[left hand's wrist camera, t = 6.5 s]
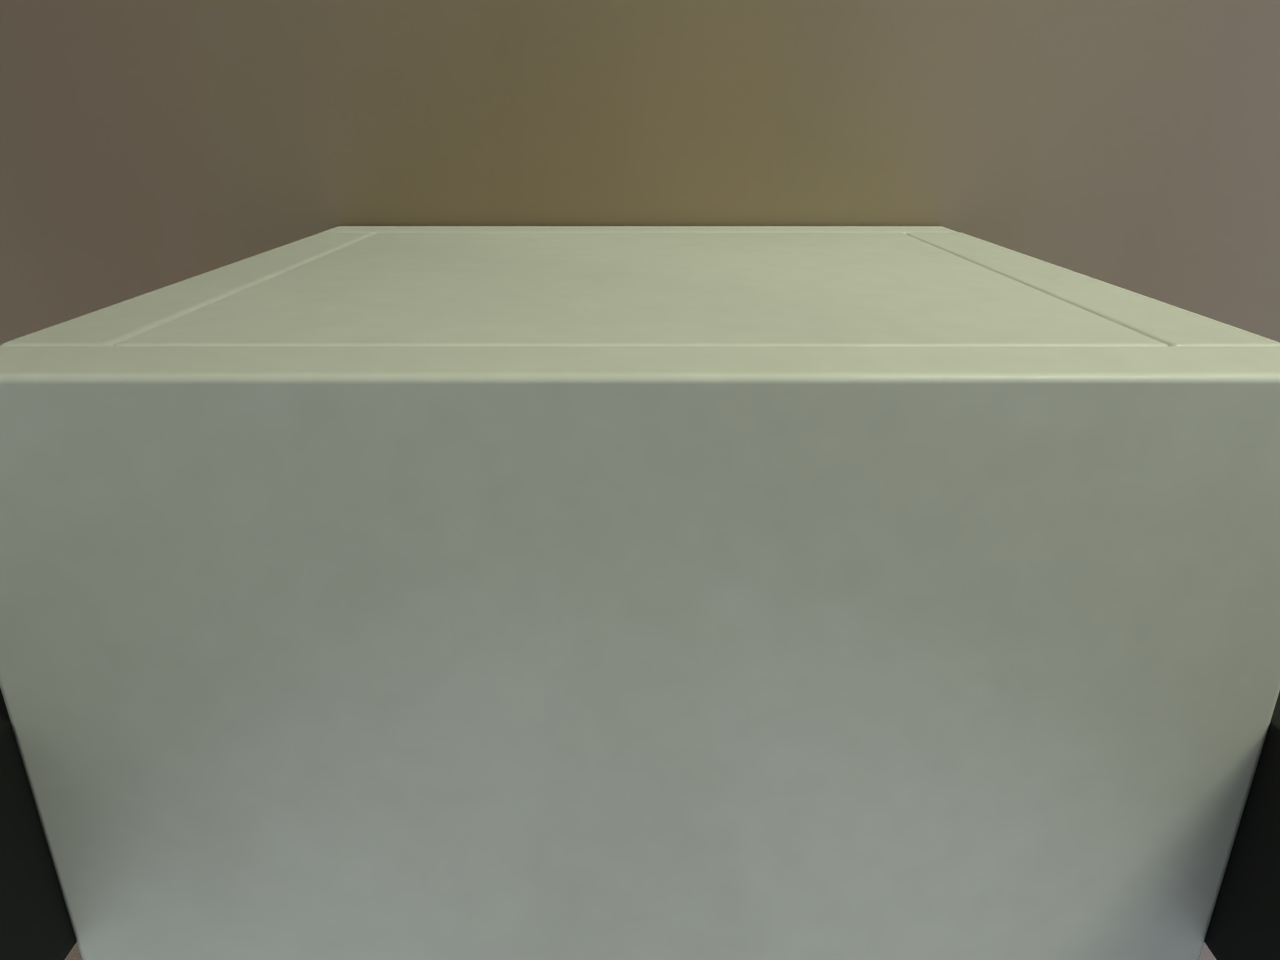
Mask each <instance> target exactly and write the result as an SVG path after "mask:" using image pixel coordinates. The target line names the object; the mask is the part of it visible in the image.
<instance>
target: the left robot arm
mask: <svg viewBox="0 0 1280 960" xmlns="http://www.w3.org/2000/svg"><path fill="white" fill-rule="evenodd" d="M76 942H77V940H76V937H75V933H74V930H73V927H72V923H71V920H70V917H69V913H68V910H67V907H66V904H65V900H64V897H63V894H62V890H61V887H60V884H59V880H58V877H57V874H56V870H55V867H54V864H53V860H52V857H51V854H50V850H49V847H48V844H47V840H46V837H45V834H44V830H43V827H42V824H41V820H40V817H39V814H38V811H37V807H36V804H35V801H34V797H33V794H32V791H31V787H30V784H29V781H28V777H27V774H26V771H25V767H24V764H23V761H22V757H21V754H20V751H19V747H18V744H17V741H16V737H15V734H14V731H13V727H12V724H11V721H10V718H9V714H8V711H7V708H6V704H5V701H4V698H3V694H2V691H1V688H0V960H64V959H65V958H66V956H67V955H68V953H69V952H70V950H71V949H72V948H73V946H74V945H75V943H76ZM1204 942H1205V943H1206V945H1207V946H1208V948H1209V949H1210V951H1211V952H1212V953H1213V955H1214V956H1215V958H1216V959H1217V960H1280V691H1279V695H1278V698H1277V701H1276V704H1275V708H1274V711H1273V714H1272V718H1271V721H1270V724H1269V728H1268V731H1267V734H1266V738H1265V741H1264V744H1263V748H1262V751H1261V754H1260V757H1259V761H1258V764H1257V767H1256V771H1255V774H1254V777H1253V781H1252V784H1251V787H1250V791H1249V794H1248V797H1247V801H1246V804H1245V807H1244V811H1243V814H1242V817H1241V820H1240V824H1239V827H1238V830H1237V834H1236V837H1235V840H1234V844H1233V847H1232V850H1231V854H1230V857H1229V860H1228V864H1227V867H1226V870H1225V873H1224V877H1223V880H1222V883H1221V887H1220V890H1219V893H1218V897H1217V900H1216V903H1215V907H1214V910H1213V913H1212V917H1211V920H1210V923H1209V926H1208V930H1207V933H1206V936H1205V940H1204Z"/></svg>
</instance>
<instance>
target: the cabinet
mask: <svg viewBox="0 0 1280 960" xmlns="http://www.w3.org/2000/svg"><path fill="white" fill-rule="evenodd" d="M0 688H1V691H2V694H3V698H4V701H5V704H6V708H7V711H8V714H9V718H10V721H11V724H12V727H13V731H14V734H15V737H16V741H17V744H18V747H19V751H20V754H21V757H22V761H23V764H24V767H25V771H26V774H27V777H28V781H29V784H30V787H31V791H32V794H33V797H34V801H35V804H36V807H37V811H38V814H39V817H40V820H41V824H42V827H43V830H44V834H45V837H46V840H47V844H48V847H49V850H50V854H51V857H52V860H53V864H54V867H55V870H56V874H57V877H58V880H59V884H60V887H61V890H62V894H63V897H64V900H65V904H66V907H67V910H68V913H69V917H70V920H71V923H72V927H73V930H74V933H75V937H76V940H77V943H78V947H79V950H80V953H81V957H82V960H1199V956H1200V953H1201V950H1202V946H1203V943H1204V940H1205V936H1206V933H1207V930H1208V926H1209V923H1210V920H1211V917H1212V913H1213V910H1214V907H1215V903H1216V900H1217V897H1218V893H1219V890H1220V887H1221V883H1222V880H1223V877H1224V873H1225V870H1226V867H1227V864H1228V860H1229V857H1230V854H1231V850H1232V847H1233V844H1234V840H1235V837H1236V834H1237V830H1238V827H1239V824H1240V820H1241V817H1242V814H1243V811H1244V807H1245V804H1246V801H1247V797H1248V794H1249V791H1250V787H1251V784H1252V781H1253V777H1254V774H1255V771H1256V767H1257V764H1258V761H1259V757H1260V754H1261V751H1262V748H1263V744H1264V741H1265V738H1266V734H1267V731H1268V728H1269V724H1270V721H1271V718H1272V714H1273V711H1274V708H1275V704H1276V701H1277V698H1278V695H1279V691H1280V342H1277V341H1274V340H1271V339H1268V338H1265V337H1262V336H1259V335H1257V334H1254V333H1251V332H1248V331H1245V330H1242V329H1239V328H1236V327H1233V326H1230V325H1228V324H1225V323H1222V322H1219V321H1216V320H1213V319H1210V318H1207V317H1204V316H1201V315H1199V314H1196V313H1193V312H1190V311H1187V310H1184V309H1181V308H1178V307H1175V306H1172V305H1170V304H1167V303H1164V302H1161V301H1158V300H1155V299H1152V298H1149V297H1146V296H1143V295H1141V294H1138V293H1135V292H1132V291H1129V290H1126V289H1123V288H1120V287H1117V286H1115V285H1112V284H1109V283H1106V282H1103V281H1100V280H1097V279H1094V278H1091V277H1088V276H1086V275H1083V274H1080V273H1077V272H1074V271H1071V270H1068V269H1065V268H1062V267H1059V266H1057V265H1054V264H1051V263H1048V262H1045V261H1042V260H1039V259H1036V258H1033V257H1030V256H1028V255H1025V254H1022V253H1019V252H1016V251H1013V250H1010V249H1007V248H1004V247H1001V246H999V245H996V244H993V243H990V242H987V241H984V240H981V239H978V238H975V237H973V236H970V235H967V234H964V233H961V232H956V231H953V230H950V229H948V228H945V227H942V226H338V227H335V228H332V229H330V230H327V231H324V232H322V233H318V234H315V235H313V236H310V237H307V238H304V239H301V240H298V241H295V242H293V243H290V244H287V245H284V246H281V247H278V248H275V249H272V250H270V251H267V252H264V253H261V254H258V255H255V256H252V257H249V258H247V259H244V260H241V261H238V262H235V263H232V264H229V265H227V266H224V267H221V268H218V269H215V270H212V271H209V272H206V273H204V274H201V275H198V276H195V277H192V278H189V279H186V280H183V281H181V282H178V283H175V284H172V285H169V286H166V287H163V288H161V289H158V290H155V291H152V292H149V293H146V294H143V295H140V296H138V297H135V298H132V299H129V300H126V301H123V302H120V303H117V304H115V305H112V306H109V307H106V308H103V309H100V310H97V311H95V312H92V313H89V314H86V315H83V316H80V317H77V318H74V319H72V320H69V321H66V322H63V323H60V324H57V325H54V326H51V327H49V328H46V329H43V330H40V331H37V332H34V333H31V334H29V335H26V336H23V337H20V338H17V339H14V340H11V341H8V342H6V343H4V344H2V345H0Z"/></svg>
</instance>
